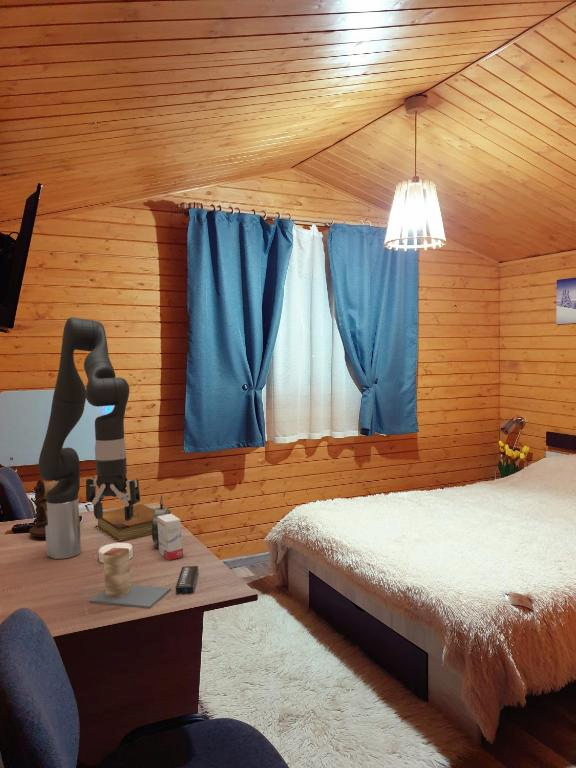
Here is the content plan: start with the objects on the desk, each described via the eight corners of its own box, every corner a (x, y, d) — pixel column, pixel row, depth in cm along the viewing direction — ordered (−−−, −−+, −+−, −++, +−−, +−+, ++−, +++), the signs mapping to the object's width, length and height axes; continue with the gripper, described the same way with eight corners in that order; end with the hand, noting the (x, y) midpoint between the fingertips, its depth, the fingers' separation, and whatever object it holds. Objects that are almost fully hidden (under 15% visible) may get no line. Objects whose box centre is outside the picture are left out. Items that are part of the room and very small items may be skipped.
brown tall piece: (62, 525, 213) (59, 471, 212) (83, 532, 203) (80, 476, 202) (22, 535, 202) (18, 479, 201) (42, 544, 192) (38, 484, 191)
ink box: (183, 557, 175) (182, 519, 174) (167, 561, 172) (165, 522, 171) (173, 549, 182) (172, 512, 181) (158, 553, 179) (156, 515, 179)
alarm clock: (158, 539, 193) (155, 491, 192) (174, 538, 193) (172, 490, 192) (151, 550, 182) (149, 500, 181) (168, 550, 182) (166, 499, 181)
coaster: (93, 565, 172) (93, 553, 171) (105, 553, 182) (105, 542, 181) (127, 564, 171) (126, 552, 171) (137, 552, 181) (136, 541, 181)
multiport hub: (198, 573, 163) (198, 565, 162) (193, 595, 148) (192, 586, 148) (182, 574, 162) (182, 566, 162) (175, 596, 148) (175, 587, 148)
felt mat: (89, 602, 145) (89, 600, 145) (113, 584, 156) (113, 583, 156) (149, 608, 140) (149, 606, 140) (170, 589, 151) (170, 588, 151)
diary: (171, 532, 202) (170, 516, 202) (119, 544, 191) (118, 527, 191) (144, 517, 220) (144, 503, 220) (95, 528, 209) (95, 512, 209)
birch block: (105, 595, 147) (103, 553, 147) (115, 588, 152) (113, 547, 151) (121, 597, 146) (119, 554, 146) (130, 590, 151) (128, 548, 150)
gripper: (77, 458, 145) (80, 522, 146) (127, 459, 141) (130, 525, 142) (95, 453, 152) (98, 513, 153) (143, 454, 149) (146, 516, 149)
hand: (113, 519), depth 148 cm, fingers open, 8 cm apart
